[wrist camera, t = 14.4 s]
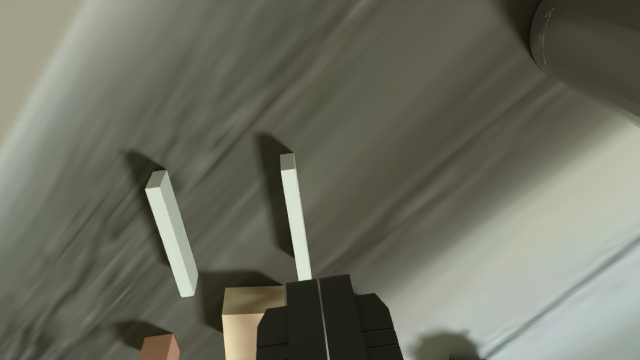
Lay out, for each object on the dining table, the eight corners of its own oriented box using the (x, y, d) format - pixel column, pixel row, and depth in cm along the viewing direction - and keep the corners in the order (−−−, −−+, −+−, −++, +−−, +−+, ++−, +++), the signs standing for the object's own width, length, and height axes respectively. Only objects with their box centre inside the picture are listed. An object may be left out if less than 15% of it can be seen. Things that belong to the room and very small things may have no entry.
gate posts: (374, 304, 51) (382, 332, 48) (375, 324, 53) (383, 353, 49) (145, 337, 51) (135, 368, 47) (152, 356, 52) (144, 387, 49)
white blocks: (293, 152, 41) (295, 168, 39) (309, 259, 47) (311, 279, 45) (153, 171, 41) (144, 188, 38) (186, 276, 47) (181, 297, 44)
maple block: (284, 284, 49) (284, 312, 46) (284, 332, 52) (285, 361, 49) (225, 286, 48) (221, 315, 45) (229, 334, 52) (226, 364, 48)
